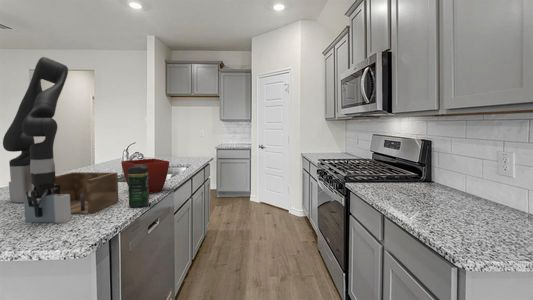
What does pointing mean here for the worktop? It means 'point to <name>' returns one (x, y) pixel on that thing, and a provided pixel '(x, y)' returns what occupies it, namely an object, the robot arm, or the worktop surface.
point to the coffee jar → (138, 186)
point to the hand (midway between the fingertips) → (45, 214)
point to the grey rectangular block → (50, 209)
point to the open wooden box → (89, 190)
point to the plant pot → (150, 172)
